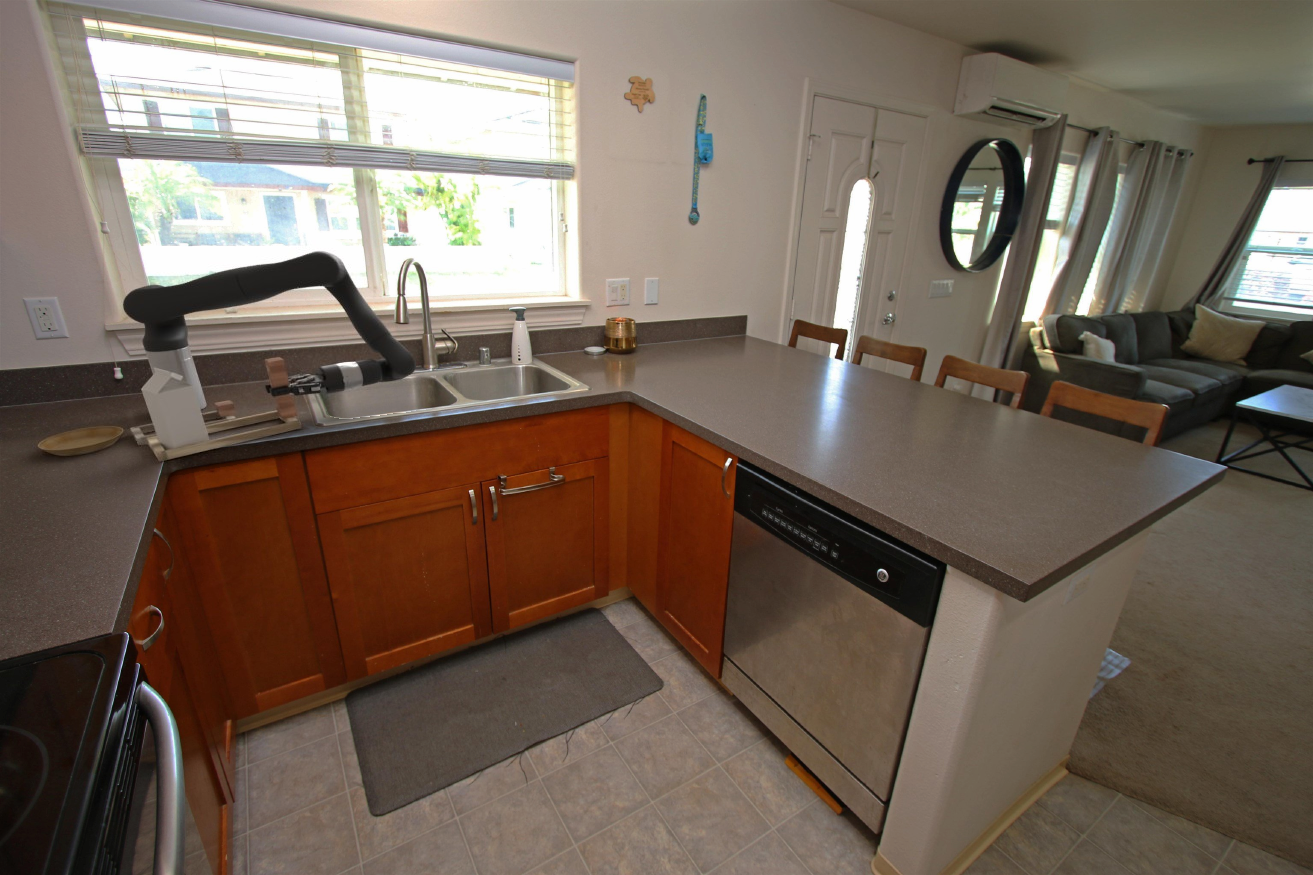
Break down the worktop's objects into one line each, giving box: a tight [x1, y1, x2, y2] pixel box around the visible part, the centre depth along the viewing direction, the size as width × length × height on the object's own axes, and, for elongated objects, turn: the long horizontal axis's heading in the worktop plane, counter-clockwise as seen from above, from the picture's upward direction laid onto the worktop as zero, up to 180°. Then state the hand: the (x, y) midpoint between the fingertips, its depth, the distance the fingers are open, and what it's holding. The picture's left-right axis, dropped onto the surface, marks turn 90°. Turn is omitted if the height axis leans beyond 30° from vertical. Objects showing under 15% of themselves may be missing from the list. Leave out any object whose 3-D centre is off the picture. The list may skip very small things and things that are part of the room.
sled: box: [147, 356, 303, 462], centre depth 140 cm, size 13×30×17 cm, turn 137°
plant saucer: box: [37, 425, 124, 457], centre depth 137 cm, size 15×15×3 cm
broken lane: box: [129, 399, 237, 446], centre depth 147 cm, size 10×21×5 cm, turn 137°
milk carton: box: [140, 368, 210, 450], centre depth 133 cm, size 7×7×19 cm
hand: (268, 390), depth 147 cm, fingers closed on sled, 3 cm apart
